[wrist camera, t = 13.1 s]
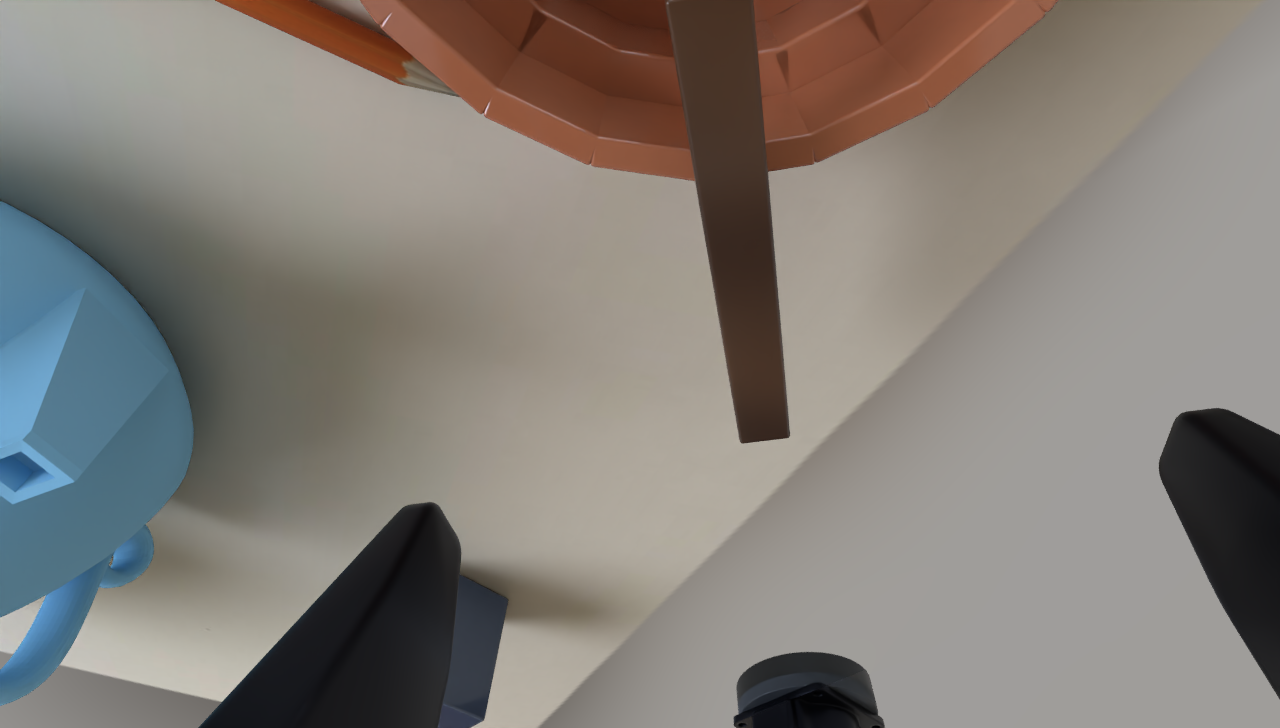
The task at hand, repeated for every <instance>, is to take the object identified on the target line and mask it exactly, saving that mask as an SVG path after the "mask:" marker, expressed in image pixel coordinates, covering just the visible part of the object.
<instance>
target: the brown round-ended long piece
mask: <svg viewBox="0 0 1280 728" xmlns="http://www.w3.org/2000/svg"><path fill="white" fill-rule="evenodd" d="M665 7H666V13H667V19H668V25H669V31H670V37H671V42H672V48H673V54H674V60H675V66H676V72H677V77H678V83H679V89H680V95H681V101H682V107H683V112H684V118H685V124H686V130H687V136H688V142H689V147H690V153H691V159H692V165H693V171H694V177H695V182H696V188H697V194H698V200H699V206H700V212H701V218H702V223H703V229H704V235H705V241H706V247H707V253H708V258H709V264H710V270H711V276H712V282H713V288H714V293H715V299H716V305H717V311H718V317H719V323H720V328H721V334H722V340H723V346H724V352H725V358H726V363H727V369H728V375H729V381H730V387H731V393H732V398H733V404H734V410H735V416H736V422H737V428H738V434H739V439H740V442H741V443H751V442H759V441H767V440H775V439H783V438H789V436H790V430H789V418H788V406H787V394H786V382H785V370H784V358H783V346H782V335H781V323H780V311H779V299H778V287H777V275H776V263H775V251H774V239H773V227H772V215H771V203H770V191H769V180H768V168H767V156H766V144H765V132H764V120H763V108H762V96H761V84H760V72H759V60H758V48H757V36H756V25H755V13H754V1H753V0H665Z"/></svg>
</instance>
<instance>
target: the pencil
mask: <svg viewBox="0 0 1280 728" xmlns="http://www.w3.org/2000/svg"><path fill="white" fill-rule="evenodd" d="M215 1H217V2H220V3H222V4H224V5H226V6H228V7H231V8H233V9H235V10H237V11H240V12H242V13H244V14H246V15H248V16H251V17H253V18H255V19H257V20H259V21H262V22H264V23H266V24H268V25H270V26H273V27H275V28H277V29H279V30H281V31H284V32H286V33H288V34H290V35H292V36H295V37H297V38H299V39H301V40H303V41H306V42H308V43H310V44H312V45H314V46H317V47H319V48H321V49H323V50H325V51H328V52H330V53H332V54H334V55H337V56H339V57H341V58H343V59H345V60H348V61H350V62H352V63H354V64H356V65H359V66H361V67H363V68H365V69H367V70H370V71H372V72H374V73H376V74H378V75H381V76H383V77H385V78H387V79H389V80H392V81H394V82H396V83H398V84H401V85H406V86H411V87H415V88H420V89H425V90H429V91H434V92H439V93H443V94H448V95H453V96H457V97H460V96H459V95H457V94H456V93H455V92H454V91H453V90H452V89H451V88H449V87H448V86H447V85H446V84H445V83H444V82H442V81H441V80H440V79H439V78H438V77H437V76H435V75H434V74H433V73H432V72H431V71H430V70H428V69H427V68H426V67H425V66H424V65H423V64H422V63H420V62H419V61H418V60H417V59H416V58H415V57H413V56H412V55H411V54H410V53H409V52H408V51H406V50H405V49H404V48H403V47H402V46H401V45H399V44H398V43H397V42H396V41H394V40H392V39H390V38H388V37H386V36H383V35H381V34H379V33H377V32H375V31H373V30H371V29H368V28H366V27H364V26H362V25H360V24H358V23H356V22H354V21H351V20H349V19H347V18H345V17H343V16H341V15H339V14H336V13H334V12H332V11H330V10H328V9H326V8H324V7H322V6H319V5H317V4H315V3H313V2H311V1H309V0H215Z"/></svg>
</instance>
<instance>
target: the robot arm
mask: <svg viewBox="0 0 1280 728" xmlns="http://www.w3.org/2000/svg"><path fill="white" fill-rule="evenodd" d="M1159 473H1160V477H1161V480H1162V483H1163V485H1164V487H1165V489H1166V491H1167V493H1168V495H1169V498H1170V500H1171V502H1172V504H1173V506H1174V508H1175V510H1176V512H1177V514H1178V516H1179V518H1180V521H1181V522H1182V525H1183V527H1184V529H1185V531H1186V533H1187V535H1188V537H1189V539H1190V541H1191V544H1192V546H1193V548H1194V550H1195V552H1196V554H1197V556H1198V558H1199V560H1200V563H1201V565H1202V567H1203V569H1204V571H1205V573H1206V575H1207V577H1208V579H1209V582H1210V583H1211V585H1212V587H1213V589H1214V591H1215V593H1216V595H1217V597H1218V599H1219V601H1220V603H1221V604H1222V606H1223V608H1224V609H1225V611H1226V613H1227V615H1228V616H1229V618H1230V620H1231V621H1232V623H1233V625H1234V626H1235V628H1236V629H1237V631H1238V633H1239V634H1240V636H1241V638H1242V639H1243V641H1244V642H1245V644H1246V646H1247V647H1248V649H1249V650H1250V652H1251V654H1252V655H1253V657H1254V658H1255V660H1256V662H1257V663H1258V665H1259V667H1260V668H1261V670H1262V671H1263V673H1264V674H1265V676H1266V678H1267V680H1268V681H1269V683H1270V684H1271V686H1272V688H1273V689H1274V691H1275V692H1276V694H1277V696H1278V697H1279V699H1280V435H1279V434H1276V433H1275V432H1272V431H1271V430H1269V429H1266V428H1264V427H1262V426H1260V425H1258V424H1256V423H1254V422H1252V421H1250V420H1248V419H1246V418H1244V417H1242V416H1240V415H1238V414H1236V413H1234V412H1231V411H1229V410H1226V409H1220V408H1213V409H1205V410H1197V411H1188V412H1184V413H1181V414H1180V415H1179V416H1178V417H1177V418H1176V419H1175V421H1174V423H1173V426H1172V428H1171V431H1170V434H1169V437H1168V439H1167V441H1166V444H1165V447H1164V449H1163V452H1162V455H1161V457H1160V461H1159ZM460 563H461V546H460V542H459V539H458V537H457V535H456V533H455V532H454V530H453V528H452V527H451V525H450V523H449V522H448V520H447V518H446V517H445V515H444V513H443V512H442V510H441V508H440V507H439V506H438V505H437V504H435V503H433V502H427V503H419V504H411V505H407V506H405V507H403V508H402V509H401V510H400V511H399V512H398V513H397V514H396V515H395V516H394V517H393V518H392V519H391V520H390V521H389V522H388V524H387V525H386V526H385V527H384V528H383V529H382V530H381V531H380V532H379V533H378V534H377V535H376V536H375V538H374V539H373V540H372V541H371V542H370V543H369V544H368V545H367V546H366V547H365V548H364V549H363V550H362V552H361V553H360V554H359V555H358V556H357V557H356V558H355V559H354V560H353V561H352V562H351V563H350V565H349V566H348V567H347V568H346V569H345V570H344V571H343V572H342V573H341V574H340V575H339V576H338V577H337V579H336V580H335V581H334V582H333V583H332V584H331V585H330V586H329V587H328V588H327V589H326V590H325V592H324V593H323V594H322V595H321V596H320V597H319V598H318V599H317V600H316V601H315V602H314V603H313V604H312V606H311V607H310V608H309V609H308V610H307V611H306V612H305V613H304V614H303V615H302V616H301V617H300V619H299V620H298V621H297V622H296V623H295V624H294V625H293V626H292V627H291V628H290V629H289V630H288V631H287V633H286V634H285V635H284V636H283V637H282V638H281V639H280V640H279V641H278V642H277V643H276V644H275V645H274V647H273V648H272V649H271V650H270V651H269V652H268V653H267V654H266V655H265V656H264V657H263V658H262V660H261V661H260V662H259V663H258V664H257V665H256V666H255V667H254V668H253V669H252V670H251V671H250V672H249V674H248V675H247V676H246V677H245V678H244V679H243V680H242V681H241V682H240V683H239V684H238V685H237V687H236V688H235V689H234V690H233V691H232V692H231V693H230V694H229V695H228V696H227V697H226V698H225V699H224V701H223V702H222V703H221V704H220V705H219V706H218V707H217V708H216V709H215V710H214V711H213V712H212V714H211V715H210V716H209V717H208V718H207V719H206V720H205V721H204V722H203V723H202V724H201V726H199V728H438V725H439V720H440V715H441V710H442V705H443V700H444V696H445V691H446V686H447V680H448V675H449V669H450V663H451V655H452V647H453V637H454V626H455V616H456V605H457V594H458V584H459V573H460ZM733 719H734V726H735V727H736V728H884V722H883V719H882V718H881V717H880V716H878V715H876V714H874V713H873V712H871V711H869V710H868V709H866V708H864V707H863V706H861V705H859V704H858V703H856V702H854V701H852V700H851V699H849V698H847V697H846V696H844V695H842V694H841V693H839V692H837V691H836V690H834V689H832V688H830V687H829V686H827V685H825V684H823V683H819V682H817V683H812V684H809V685H807V686H804V687H802V688H800V689H797V690H795V691H792V692H790V693H788V694H785V695H783V696H781V697H778V698H776V699H773V700H771V701H769V702H766V703H764V704H761V705H759V706H757V707H754V708H752V709H749V710H747V711H745V712H742V713H740V714H738V715H736V716H734V718H733Z"/></svg>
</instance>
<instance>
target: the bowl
mask: <svg viewBox="0 0 1280 728" xmlns="http://www.w3.org/2000/svg"><path fill="white" fill-rule="evenodd" d="M360 1H361V3H362V4H363V5H364V7H365V8H366V10H367V11H368V12H369V14H370V15H371V17H372V18H373V20H374V21H375V22H376V23H377V24H378V25H380V24H381V26H380V27H381V29H382V30H383V31H384V32H386V33H387V34H388V35H389V36H390V37H391V38H392V39H394V40H395V41H396V42H397V43H398V44H399V45H401V46H402V47H403V48H404V49H405V50H406V51H408V52H409V53H410V54H411V55H412V56H413V57H415V58H416V59H417V60H418V61H419V62H420V63H422V64H423V65H424V66H425V67H426V68H427V69H428V70H430V71H431V72H432V73H433V74H434V75H435V76H437V77H438V78H439V79H440V80H441V81H442V82H444V83H445V84H446V85H447V86H448V87H449V88H451V89H452V90H453V91H454V92H455V93H456V94H457V95H459V96H460V97H461V98H462V99H463V100H464V101H466V102H467V103H468V104H469V105H470V106H471V107H473V108H474V109H475V110H476V111H477V112H478V113H480V114H483V113H484V116H485V117H486V118H488V119H490V120H492V121H494V122H497V123H499V124H501V125H503V126H505V127H507V128H509V129H512V130H514V131H516V132H518V133H520V134H522V135H524V136H527V137H529V138H531V139H533V140H535V141H537V142H539V143H542V144H544V145H546V146H548V147H550V148H552V149H555V150H557V151H559V152H561V153H563V154H565V155H567V156H570V157H572V158H574V159H576V160H578V161H580V162H582V163H585V164H587V165H590V164H591V165H592V166H594V167H600V168H607V169H614V170H621V171H628V172H635V173H642V174H649V175H657V176H664V177H671V178H678V179H685V180H692V181H695V177H694V171H693V165H692V159H691V153H690V147H689V142H688V136H687V130H686V124H685V118H684V112H683V107H682V101H681V95H680V89H679V83H678V77H677V72H676V66H675V60H674V54H673V48H672V42H671V37H670V31H669V25H668V19H667V13H666V7H665V0H360ZM753 1H754V13H755V25H756V36H757V48H758V60H759V72H760V84H761V96H762V108H763V120H764V132H765V144H766V156H767V168H768V172H769V171H775V170H781V169H788V168H794V167H800V166H806V165H812V164H814V162H820V161H822V160H824V159H826V158H829V157H831V156H833V155H835V154H837V153H839V152H841V151H844V150H846V149H848V148H850V147H852V146H854V145H856V144H858V143H861V142H863V141H865V140H867V139H869V138H871V137H873V136H876V135H878V134H880V133H882V132H884V131H886V130H888V129H891V128H893V127H895V126H897V125H899V124H901V123H903V122H906V121H908V120H910V119H912V118H914V117H916V116H918V115H921V114H923V113H925V112H927V111H928V110H929V107H930V108H933V107H935V106H936V105H937V104H938V103H940V102H941V101H942V100H943V99H945V98H946V97H947V96H948V95H949V94H951V93H952V92H953V91H954V90H956V89H957V88H958V87H959V86H960V85H962V84H963V83H964V82H965V81H967V80H968V79H969V78H970V77H971V76H973V75H974V74H975V73H976V72H978V71H979V70H980V69H981V68H982V67H984V66H985V65H986V64H987V63H988V62H990V61H991V60H992V59H993V58H995V57H996V56H997V55H998V54H999V53H1001V52H1002V51H1003V50H1004V49H1006V48H1007V47H1008V46H1009V45H1010V44H1012V43H1013V42H1014V41H1015V40H1017V39H1018V38H1019V37H1020V36H1021V35H1023V34H1024V33H1025V32H1026V31H1028V30H1029V29H1030V28H1031V27H1032V26H1034V25H1035V24H1036V23H1037V22H1039V21H1040V20H1041V19H1042V18H1043V17H1044V16H1045V12H1049V11H1050V10H1051V9H1052V8H1053V7H1054V5H1055V4H1056V3H1057V1H1058V0H753Z"/></svg>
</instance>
